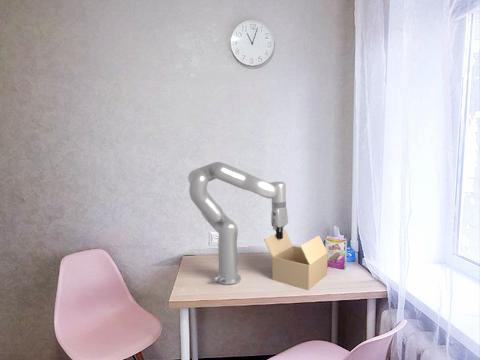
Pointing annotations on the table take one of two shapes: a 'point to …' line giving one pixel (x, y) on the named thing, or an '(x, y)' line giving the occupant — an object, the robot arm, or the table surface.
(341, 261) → the candy bar box
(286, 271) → the carton
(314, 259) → the near flap
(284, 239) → the far flap
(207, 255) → the table surface
